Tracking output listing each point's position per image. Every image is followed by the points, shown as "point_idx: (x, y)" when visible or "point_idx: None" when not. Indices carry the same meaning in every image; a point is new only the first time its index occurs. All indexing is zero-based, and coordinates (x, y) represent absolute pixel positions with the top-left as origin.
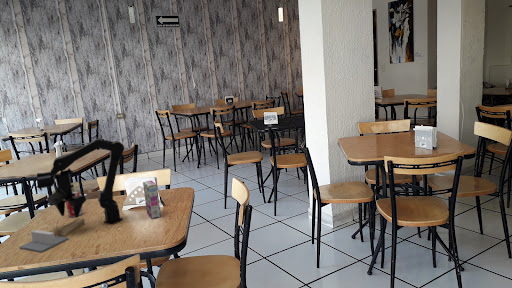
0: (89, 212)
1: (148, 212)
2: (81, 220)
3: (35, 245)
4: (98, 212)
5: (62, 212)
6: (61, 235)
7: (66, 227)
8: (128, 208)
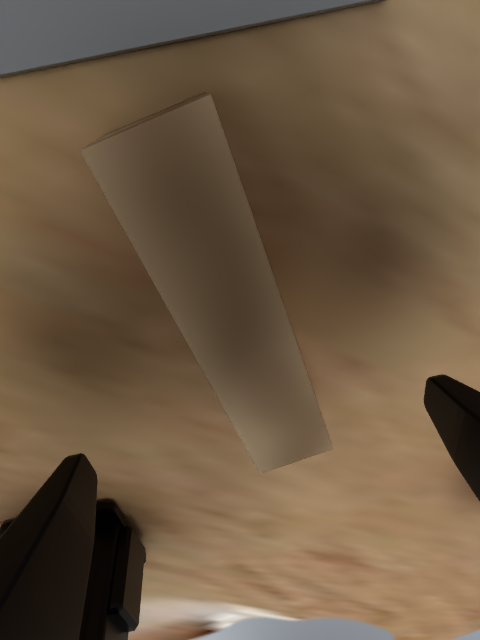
0: (443, 515)
1: None
2: (244, 442)
3: None
4: (372, 539)
5: (467, 438)
6: (143, 119)
7: (160, 246)
8: (227, 623)
